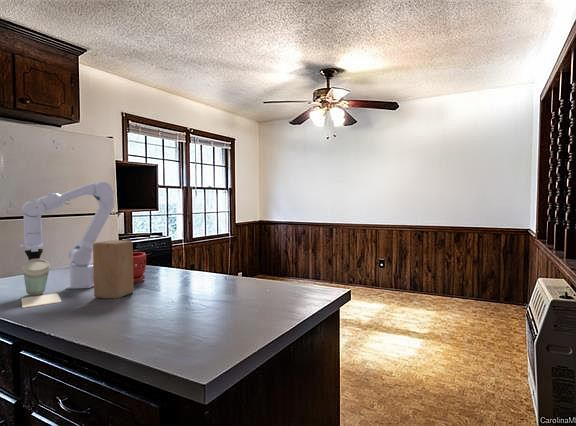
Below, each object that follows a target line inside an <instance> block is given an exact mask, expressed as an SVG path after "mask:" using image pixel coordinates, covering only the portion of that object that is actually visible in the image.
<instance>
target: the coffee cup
mask: <svg viewBox="0 0 576 426" xmlns="http://www.w3.org/2000/svg"><path fill="white" fill-rule="evenodd" d="M21 270H22V273H23V278H24V279H23V280H24V285H25V292H26V294H27V295H29V296H41V295H43V293H45V291H46V287H47V281H48V277H49V272H50V270H51V265H50V263H49V261H48V260H46V259H43V258H40V259H31V260H29V259H28V260H27V261H26V262H24V264H23V266H22V268H21Z"/></svg>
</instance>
